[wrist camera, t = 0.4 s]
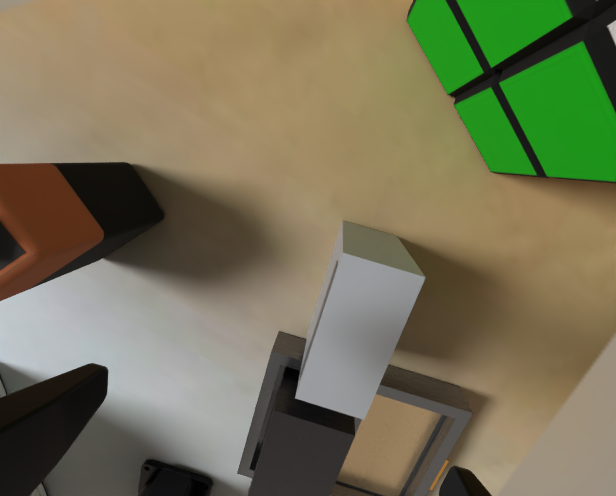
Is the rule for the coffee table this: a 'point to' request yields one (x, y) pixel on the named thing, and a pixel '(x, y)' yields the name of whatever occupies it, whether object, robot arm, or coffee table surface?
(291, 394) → the rack
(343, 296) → the grey block
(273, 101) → the coffee table surface
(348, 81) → the coffee table surface
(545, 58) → the puzzle cube
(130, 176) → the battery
